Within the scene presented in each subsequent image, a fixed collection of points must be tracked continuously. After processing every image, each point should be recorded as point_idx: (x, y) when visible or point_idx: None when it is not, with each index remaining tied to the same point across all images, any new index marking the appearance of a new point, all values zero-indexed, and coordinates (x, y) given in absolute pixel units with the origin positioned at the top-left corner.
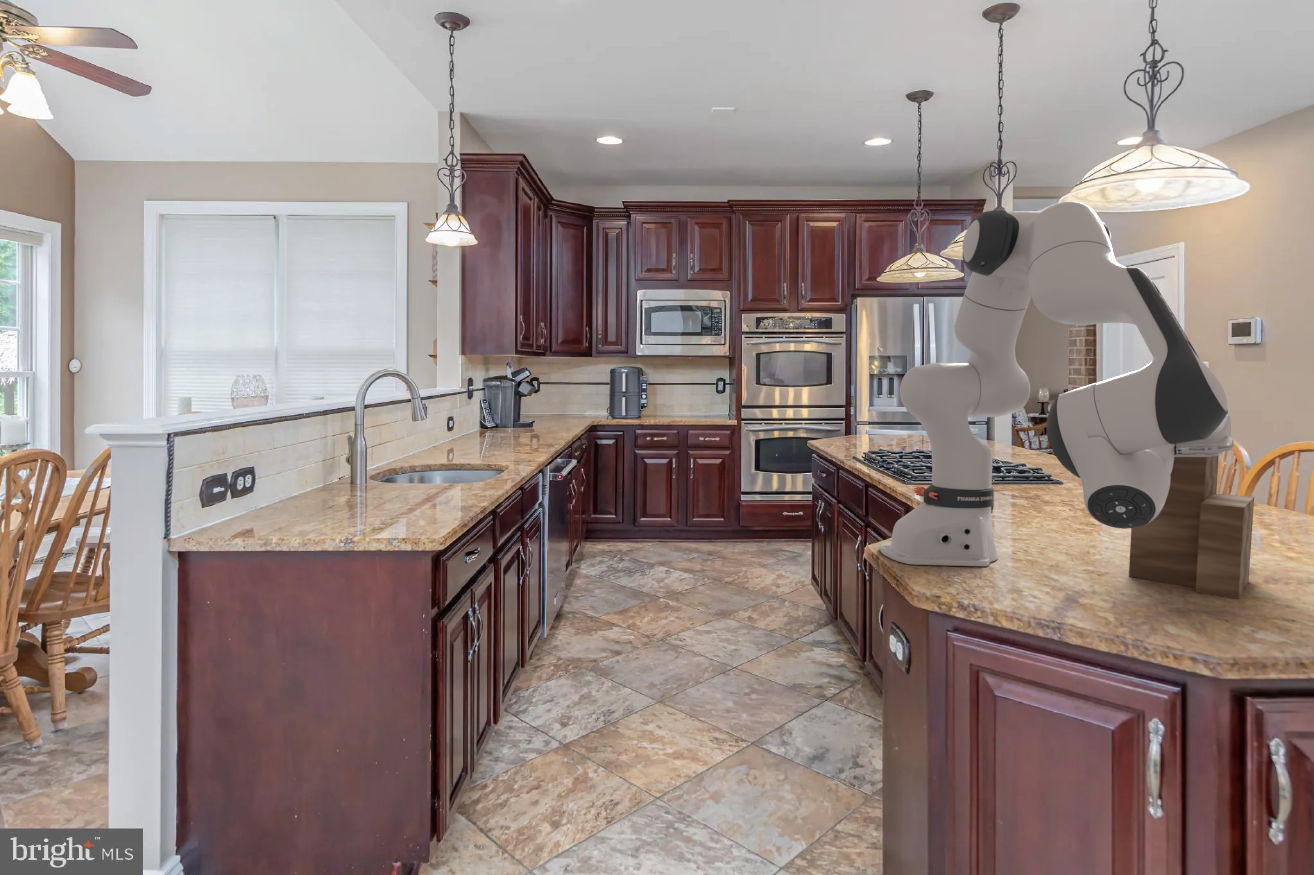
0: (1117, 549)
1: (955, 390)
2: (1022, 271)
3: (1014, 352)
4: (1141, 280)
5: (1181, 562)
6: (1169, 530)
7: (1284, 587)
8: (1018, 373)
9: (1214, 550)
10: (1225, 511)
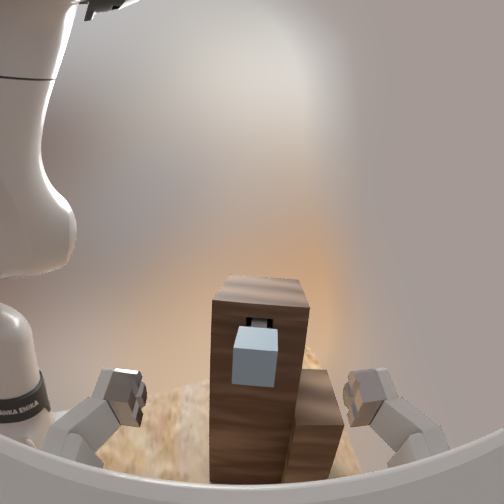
0: (196, 399)
1: None
2: None
3: (33, 169)
4: None
5: (264, 470)
6: (253, 442)
7: None
8: (47, 207)
9: (304, 468)
10: (322, 431)
